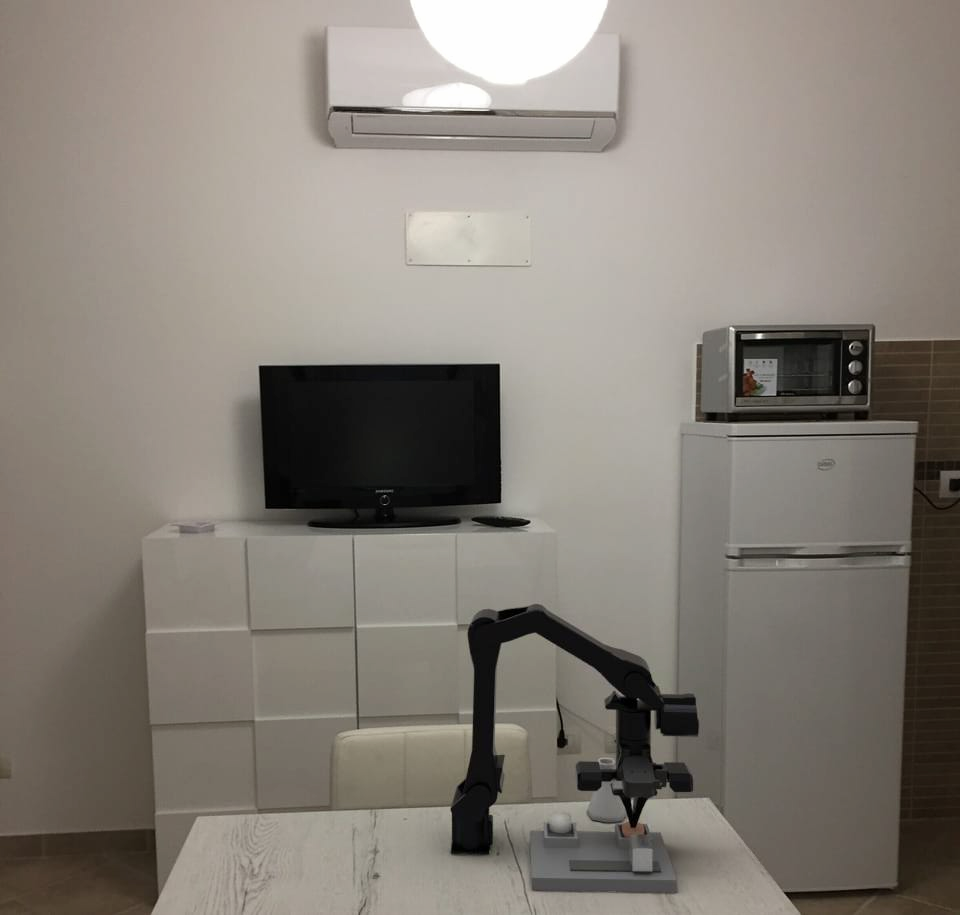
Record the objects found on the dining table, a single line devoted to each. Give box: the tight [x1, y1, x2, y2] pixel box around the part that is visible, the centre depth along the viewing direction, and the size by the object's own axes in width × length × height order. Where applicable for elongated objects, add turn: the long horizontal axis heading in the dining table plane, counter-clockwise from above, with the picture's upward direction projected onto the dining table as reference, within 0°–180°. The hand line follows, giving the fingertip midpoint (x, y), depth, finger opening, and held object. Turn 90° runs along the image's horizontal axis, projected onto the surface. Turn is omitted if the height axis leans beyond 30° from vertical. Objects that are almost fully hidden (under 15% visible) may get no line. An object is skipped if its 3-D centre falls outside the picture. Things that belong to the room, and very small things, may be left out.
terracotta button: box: [622, 821, 644, 838], centre depth 144 cm, size 4×4×2 cm
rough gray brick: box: [629, 834, 652, 871], centre depth 136 cm, size 3×4×4 cm
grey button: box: [549, 810, 572, 833], centre depth 145 cm, size 4×4×2 cm
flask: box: [586, 757, 627, 824], centre depth 158 cm, size 7×7×10 cm
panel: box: [529, 821, 678, 894], centre depth 140 cm, size 22×15×4 cm
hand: (632, 826), depth 144 cm, fingers closed, pressing on terracotta button
